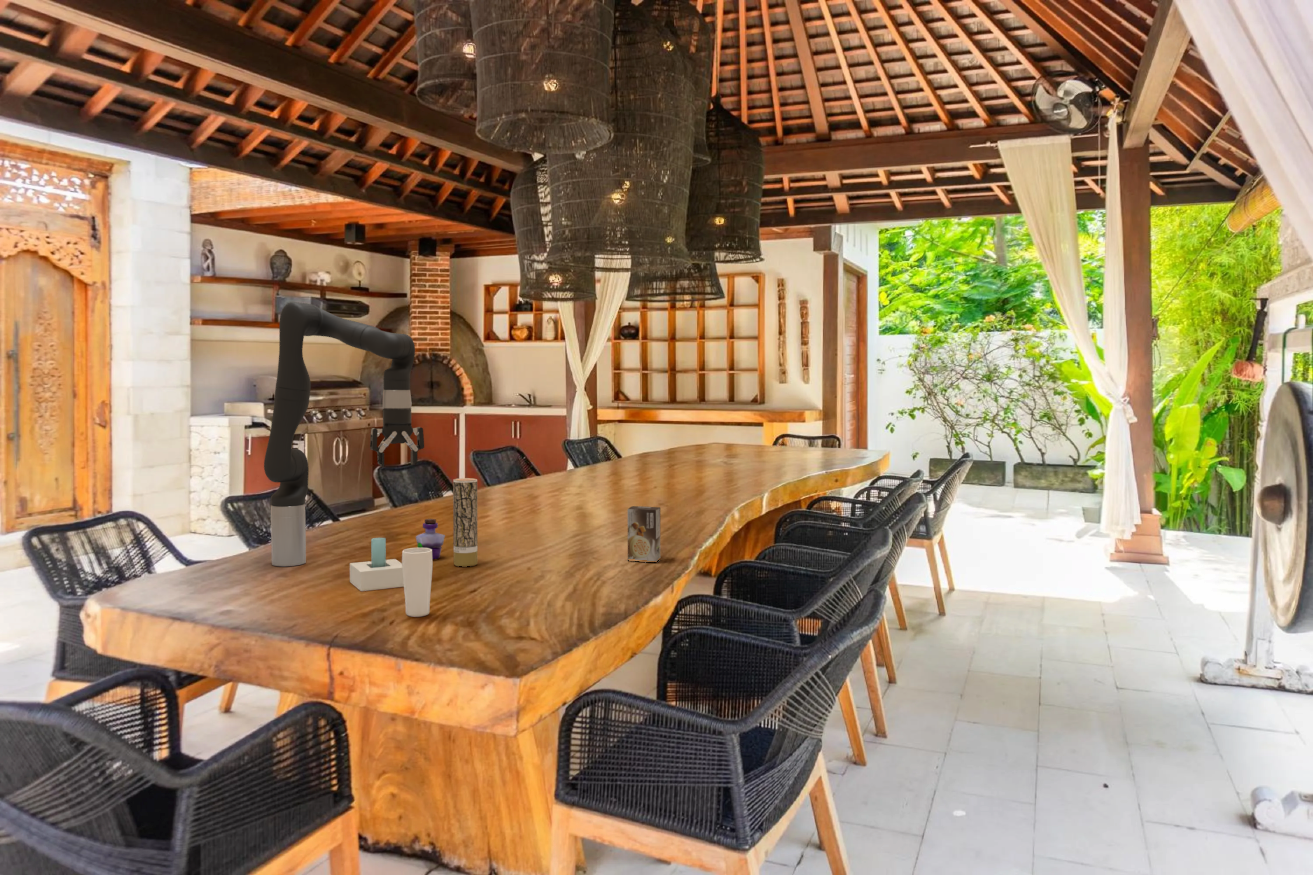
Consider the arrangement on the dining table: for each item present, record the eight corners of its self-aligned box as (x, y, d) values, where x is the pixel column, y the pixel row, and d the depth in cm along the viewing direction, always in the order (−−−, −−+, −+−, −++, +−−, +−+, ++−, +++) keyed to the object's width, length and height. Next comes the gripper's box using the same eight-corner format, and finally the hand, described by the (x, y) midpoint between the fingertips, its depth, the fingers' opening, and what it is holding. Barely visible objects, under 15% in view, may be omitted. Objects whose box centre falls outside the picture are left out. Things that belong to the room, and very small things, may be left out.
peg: (370, 583, 240) (369, 538, 239) (383, 581, 242) (383, 537, 241) (373, 586, 237) (373, 540, 236) (387, 584, 239) (387, 539, 238)
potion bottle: (409, 559, 271) (409, 519, 270) (427, 554, 279) (427, 515, 278) (433, 562, 268) (433, 522, 267) (451, 557, 276) (450, 517, 275)
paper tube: (471, 568, 260) (471, 481, 259) (449, 566, 262) (449, 480, 260) (481, 563, 267) (480, 478, 265) (459, 562, 268) (459, 477, 267)
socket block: (349, 581, 242) (349, 563, 241) (395, 577, 248) (395, 558, 247) (360, 591, 231) (360, 571, 231) (407, 585, 238) (407, 567, 237)
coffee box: (661, 559, 276) (662, 506, 274) (656, 563, 269) (656, 509, 268) (632, 557, 278) (632, 505, 277) (626, 561, 271) (626, 508, 270)
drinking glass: (405, 610, 213) (404, 547, 212) (434, 610, 213) (434, 547, 212) (399, 618, 206) (399, 553, 205) (430, 618, 207) (429, 552, 206)
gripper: (418, 405, 256) (419, 463, 257) (367, 406, 249) (367, 465, 250) (426, 406, 250) (427, 465, 251) (374, 407, 242) (374, 467, 243)
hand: (397, 465), depth 250 cm, fingers open, 8 cm apart
